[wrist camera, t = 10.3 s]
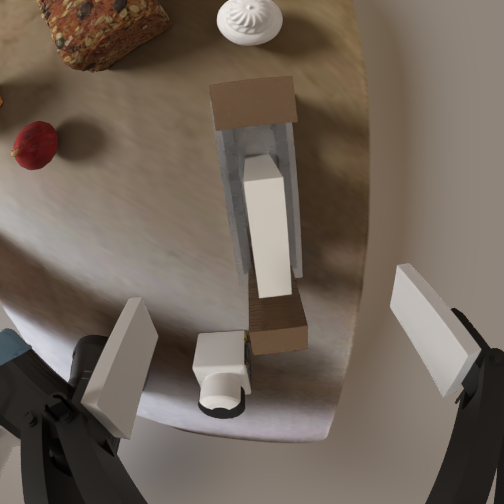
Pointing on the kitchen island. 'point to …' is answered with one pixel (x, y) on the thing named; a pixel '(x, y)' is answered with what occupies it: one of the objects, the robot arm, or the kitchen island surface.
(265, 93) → the wood and metal rack
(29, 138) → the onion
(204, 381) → the medicine bottle
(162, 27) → the bread
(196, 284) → the kitchen island surface
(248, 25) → the white rounded ridged piece
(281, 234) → the door panel
